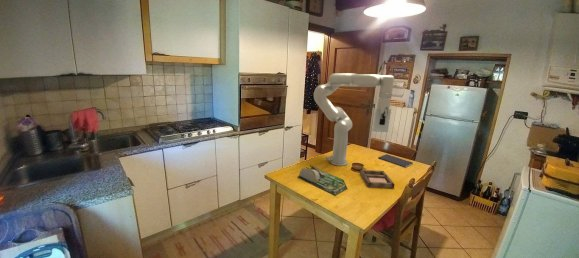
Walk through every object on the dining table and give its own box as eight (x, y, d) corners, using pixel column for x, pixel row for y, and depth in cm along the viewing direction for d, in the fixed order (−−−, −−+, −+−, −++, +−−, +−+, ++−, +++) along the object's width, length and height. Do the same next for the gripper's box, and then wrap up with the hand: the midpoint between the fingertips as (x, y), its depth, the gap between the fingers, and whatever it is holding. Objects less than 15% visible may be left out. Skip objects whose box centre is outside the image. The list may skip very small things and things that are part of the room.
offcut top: (370, 185, 141) (371, 182, 141) (367, 179, 148) (368, 177, 148) (388, 186, 141) (388, 184, 140) (384, 180, 148) (384, 178, 147)
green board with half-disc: (293, 164, 150) (313, 157, 163) (292, 175, 152) (312, 167, 165) (336, 184, 127) (356, 173, 141) (334, 196, 129) (354, 185, 143)
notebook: (377, 159, 187) (405, 168, 171) (378, 157, 186) (405, 166, 170) (386, 155, 194) (413, 164, 179) (386, 154, 194) (413, 162, 178)
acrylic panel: (373, 131, 154) (376, 108, 150) (372, 130, 157) (375, 107, 153) (387, 132, 154) (391, 109, 150) (385, 130, 157) (389, 108, 153)
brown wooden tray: (367, 188, 139) (368, 182, 138) (359, 174, 156) (360, 169, 155) (393, 189, 139) (394, 184, 138) (382, 175, 156) (383, 170, 155)
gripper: (374, 93, 157) (371, 121, 162) (383, 96, 142) (379, 127, 146) (386, 94, 157) (382, 121, 162) (396, 97, 142) (391, 127, 146)
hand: (380, 123), depth 154 cm, fingers closed on acrylic panel, 3 cm apart
